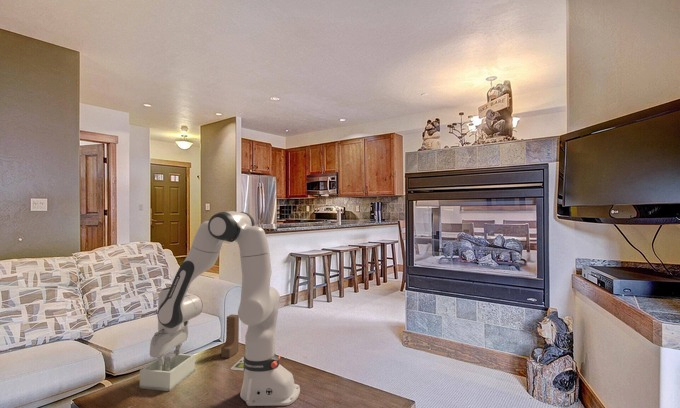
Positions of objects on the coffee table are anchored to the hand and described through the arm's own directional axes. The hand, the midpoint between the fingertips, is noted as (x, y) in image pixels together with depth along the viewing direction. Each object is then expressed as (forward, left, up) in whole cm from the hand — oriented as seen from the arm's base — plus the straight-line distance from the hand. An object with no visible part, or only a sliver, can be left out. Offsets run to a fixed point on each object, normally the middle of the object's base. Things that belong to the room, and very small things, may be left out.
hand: (169, 359), depth 144 cm
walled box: (0, 0, -8) cm, 8 cm away
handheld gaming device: (-25, -20, -9) cm, 33 cm away
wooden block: (-13, -28, -8) cm, 32 cm away
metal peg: (0, 0, -7) cm, 7 cm away
